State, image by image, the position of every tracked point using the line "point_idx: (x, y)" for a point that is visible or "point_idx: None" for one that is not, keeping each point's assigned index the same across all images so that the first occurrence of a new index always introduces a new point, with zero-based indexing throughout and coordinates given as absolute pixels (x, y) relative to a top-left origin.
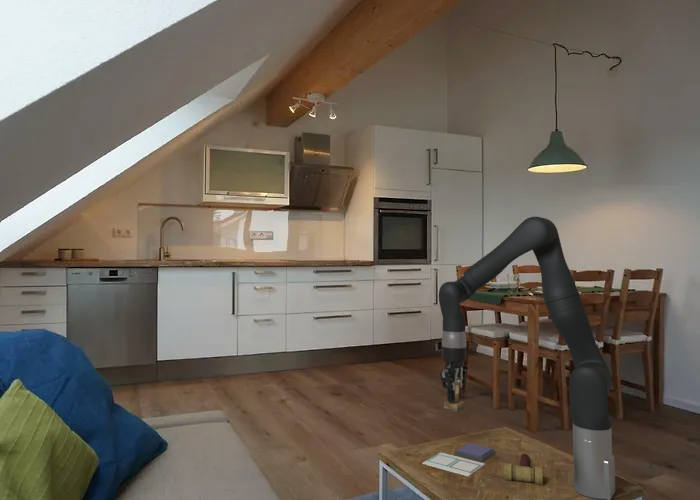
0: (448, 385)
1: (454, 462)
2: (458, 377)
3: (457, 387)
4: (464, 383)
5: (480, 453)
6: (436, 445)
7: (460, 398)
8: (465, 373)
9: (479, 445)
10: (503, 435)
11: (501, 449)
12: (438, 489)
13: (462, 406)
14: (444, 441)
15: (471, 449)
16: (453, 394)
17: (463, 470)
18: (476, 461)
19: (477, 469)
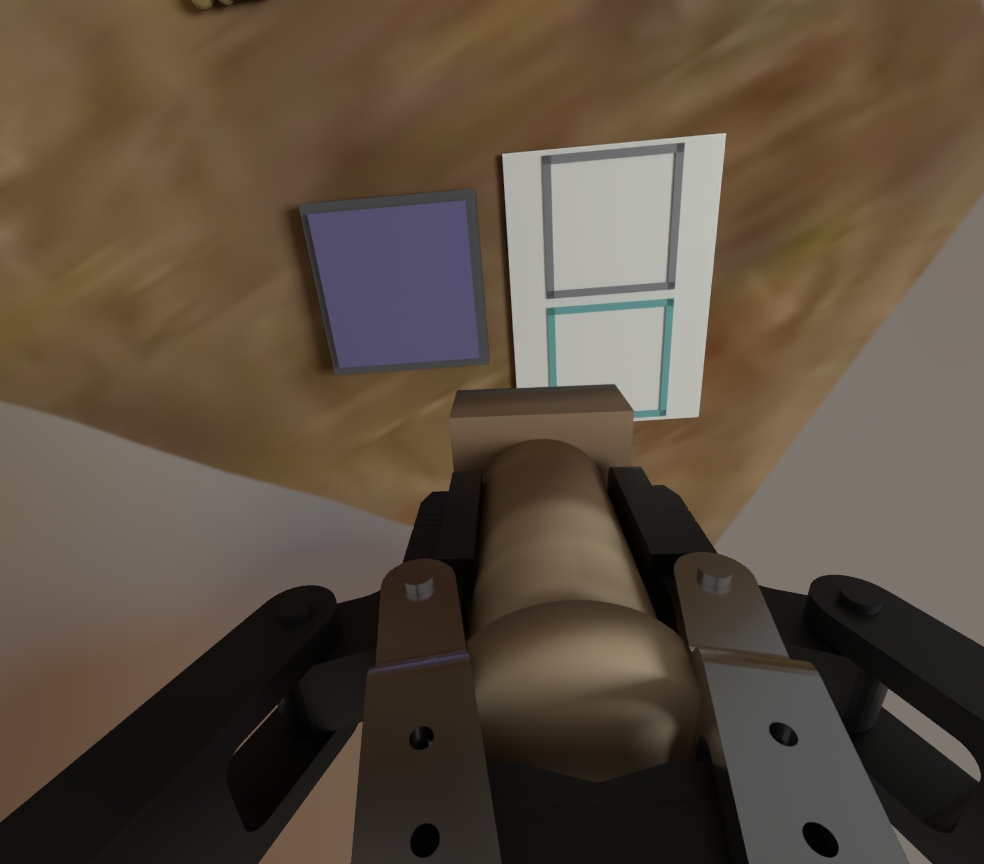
0: (967, 652)
1: (599, 300)
2: (505, 765)
3: (597, 565)
4: (301, 594)
5: (437, 226)
6: None
7: (461, 474)
8: (93, 818)
9: (328, 302)
10: (21, 321)
11: (219, 208)
12: (971, 167)
13: (494, 399)
14: (366, 496)
15: (418, 303)
16: (669, 518)
17: (678, 195)
18: (506, 213)
19: (605, 144)
